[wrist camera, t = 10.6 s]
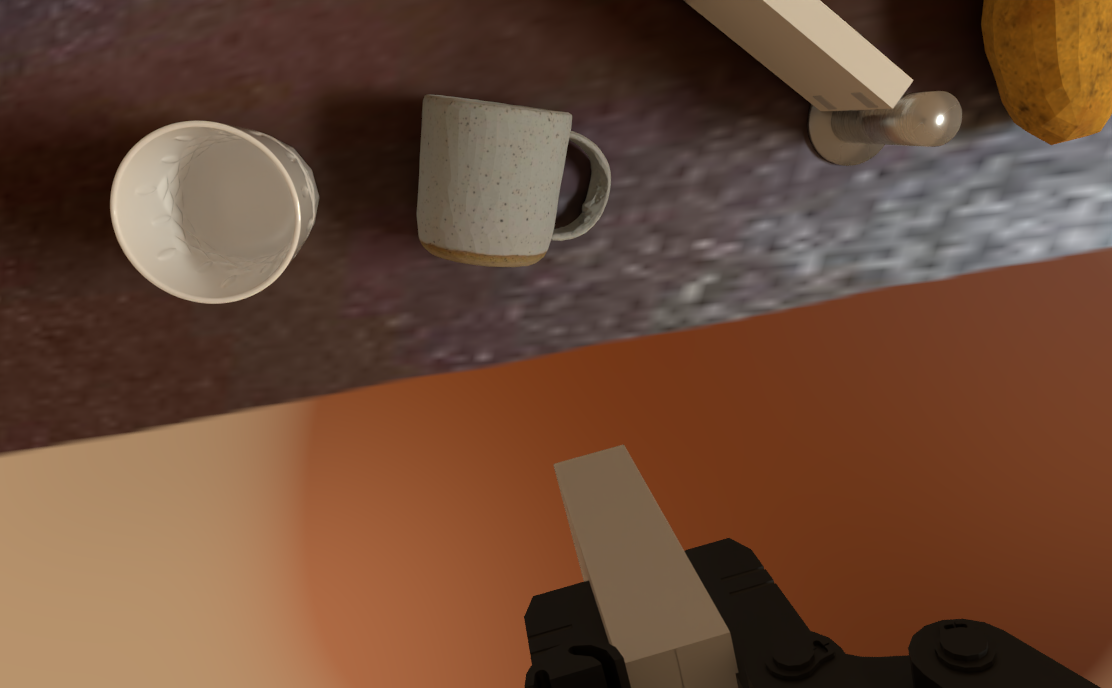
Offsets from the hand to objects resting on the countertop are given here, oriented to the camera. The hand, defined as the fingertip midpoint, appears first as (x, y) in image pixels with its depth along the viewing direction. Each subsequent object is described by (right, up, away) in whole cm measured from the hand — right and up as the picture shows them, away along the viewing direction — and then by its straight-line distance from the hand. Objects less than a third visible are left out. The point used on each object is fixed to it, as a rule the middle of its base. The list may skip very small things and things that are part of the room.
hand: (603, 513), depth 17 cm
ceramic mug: (-4, +13, +30) cm, 33 cm away
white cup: (-17, +12, +29) cm, 35 cm away
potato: (+26, +22, +32) cm, 47 cm away
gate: (+10, +21, +29) cm, 37 cm away
